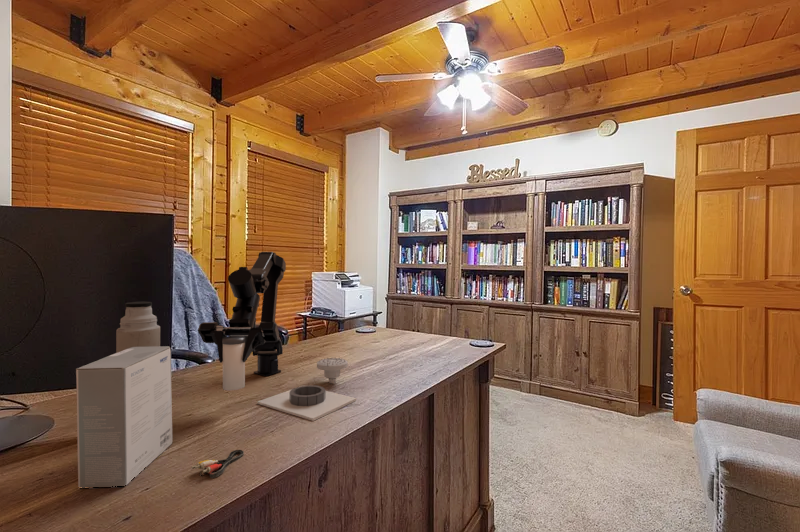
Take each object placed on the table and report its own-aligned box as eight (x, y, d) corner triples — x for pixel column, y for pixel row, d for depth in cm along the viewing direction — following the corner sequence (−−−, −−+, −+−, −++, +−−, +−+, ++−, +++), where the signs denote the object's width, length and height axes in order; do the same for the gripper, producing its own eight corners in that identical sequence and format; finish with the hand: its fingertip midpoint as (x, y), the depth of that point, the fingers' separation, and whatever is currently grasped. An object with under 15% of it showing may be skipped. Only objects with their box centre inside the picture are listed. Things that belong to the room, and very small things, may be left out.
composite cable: (238, 453, 75) (238, 440, 75) (255, 459, 73) (255, 446, 73) (189, 477, 66) (189, 463, 66) (206, 485, 64) (206, 470, 64)
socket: (257, 403, 100) (257, 392, 100) (303, 387, 114) (303, 377, 114) (313, 421, 89) (313, 408, 89) (356, 400, 103) (356, 389, 103)
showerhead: (311, 362, 114) (322, 354, 124) (311, 387, 114) (321, 377, 124) (343, 363, 113) (350, 355, 123) (343, 388, 113) (350, 378, 123)
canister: (217, 388, 93) (217, 338, 93) (236, 382, 98) (236, 335, 98) (230, 392, 91) (230, 341, 90) (249, 386, 95) (249, 337, 95)
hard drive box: (133, 445, 77) (133, 346, 77) (173, 443, 78) (173, 345, 78) (74, 490, 62) (74, 366, 62) (125, 488, 62) (125, 366, 62)
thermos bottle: (142, 419, 90) (143, 299, 90) (168, 424, 87) (168, 301, 87) (107, 433, 82) (107, 302, 82) (134, 439, 80) (134, 304, 79)
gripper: (285, 327, 110) (276, 377, 99) (217, 327, 108) (201, 378, 98) (279, 302, 102) (269, 354, 92) (206, 303, 100) (187, 355, 90)
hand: (232, 361), depth 93 cm, fingers closed on canister, 5 cm apart
